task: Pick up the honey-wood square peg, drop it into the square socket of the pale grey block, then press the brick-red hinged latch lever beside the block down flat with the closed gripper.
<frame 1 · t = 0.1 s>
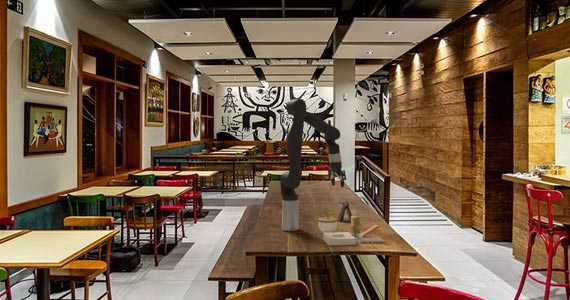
hand: (338, 186, 270), 22 cm above the table, tool pointing down, fingers open, 8 cm apart
peg: (355, 234, 237), on the table
latch lever: (368, 231, 224), point 5 cm above the table, hinge at 30.0°
socket block: (338, 241, 223), on the table
phone stand: (345, 221, 274), on the table
lidded jar: (327, 232, 243), on the table
lever bracket: (359, 240, 224), on the table
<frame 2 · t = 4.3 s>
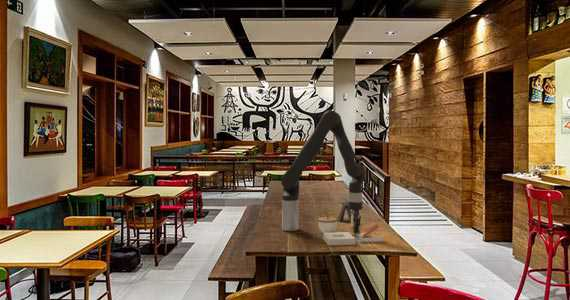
hand: (355, 231, 237), 2 cm above the table, tool pointing down, fingers closed on peg, 4 cm apart
peg: (355, 234, 237), on the table, touching gripper
everything else where it was.
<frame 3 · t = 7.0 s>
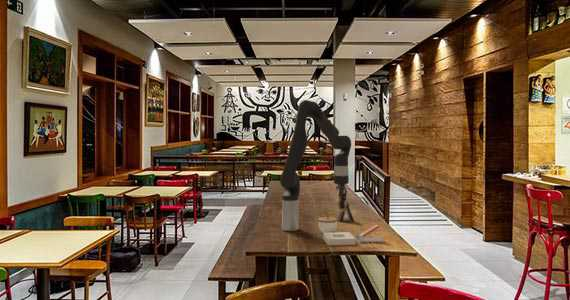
hand: (341, 207, 224), 17 cm above the table, tool pointing down, fingers closed on peg, 4 cm apart
peg: (341, 210, 224), point 16 cm above the table, touching gripper
everything else where it was.
when the fingers open (6 cm above the table, at t = 9.7 s): peg drops 4 cm, resting in socket block.
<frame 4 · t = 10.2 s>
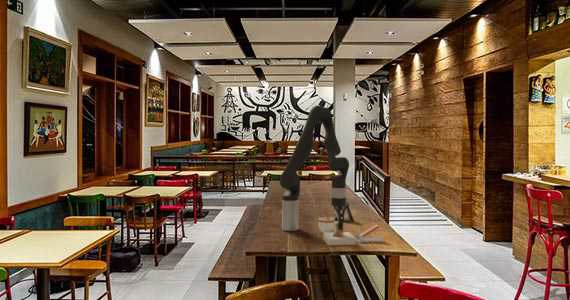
hand: (338, 227, 223), 7 cm above the table, tool pointing down, fingers open, 8 cm apart
peg: (338, 241, 223), resting in socket block
everything else where it was.
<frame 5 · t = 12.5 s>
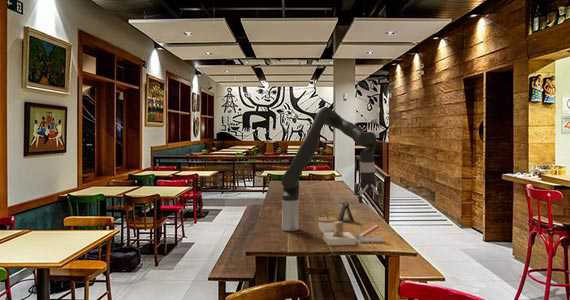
hand: (368, 202, 222), 20 cm above the table, tool pointing down, fingers open, 8 cm apart
nothing on the table moved.
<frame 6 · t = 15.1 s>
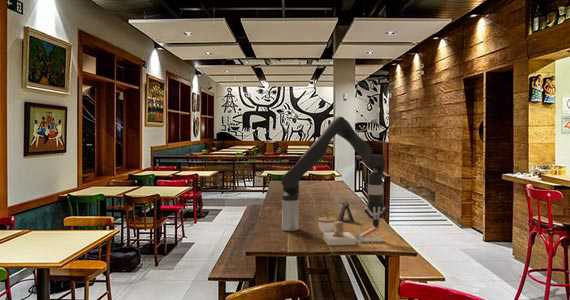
hand: (375, 226, 224), 7 cm above the table, tool pointing down, fingers closed
latch lever: (368, 232, 224), point 4 cm above the table, hinge at 27.6°, touching gripper
everything else where it was.
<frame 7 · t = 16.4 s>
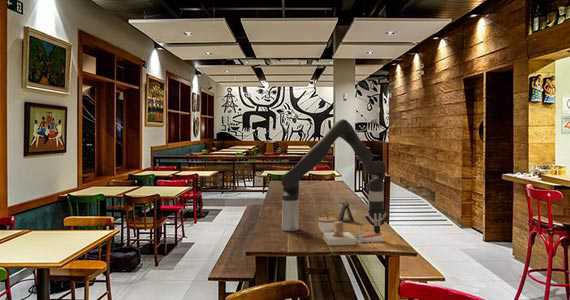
hand: (376, 232, 224), 4 cm above the table, tool pointing down, fingers closed
latch lever: (369, 235, 224), point 3 cm above the table, hinge at 8.4°, touching gripper
everything else where it was.
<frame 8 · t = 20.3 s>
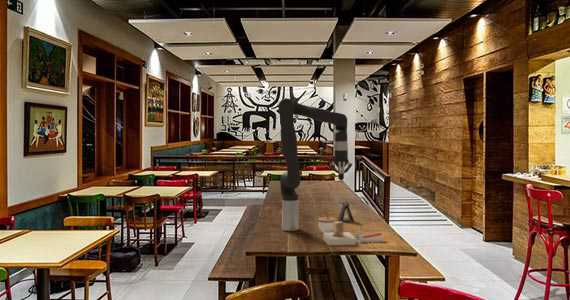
hand: (341, 180, 244), 29 cm above the table, tool pointing down, fingers closed
latch lever: (369, 235, 224), point 3 cm above the table, hinge at 8.2°
everything else where it was.
at the end: peg 0.1 cm off-centre on the socket block, point 0.0 cm above the socket block's base; peg tilted 0°; latch lever at +8° (first picture: +30°) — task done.
